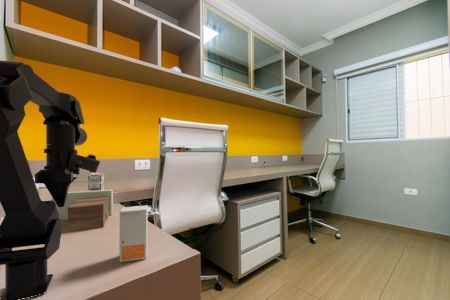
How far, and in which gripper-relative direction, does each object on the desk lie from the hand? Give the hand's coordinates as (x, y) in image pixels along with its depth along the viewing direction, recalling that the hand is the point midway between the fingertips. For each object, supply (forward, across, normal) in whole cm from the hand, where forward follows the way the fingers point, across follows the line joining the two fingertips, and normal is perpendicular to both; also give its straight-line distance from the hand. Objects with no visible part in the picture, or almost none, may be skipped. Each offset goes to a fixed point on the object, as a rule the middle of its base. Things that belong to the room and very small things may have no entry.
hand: (61, 206), depth 53 cm
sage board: (+12, +34, -2) cm, 36 cm away
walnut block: (+12, +24, -5) cm, 28 cm away
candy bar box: (+12, +41, -6) cm, 43 cm away
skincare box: (+12, -11, -16) cm, 23 cm away
